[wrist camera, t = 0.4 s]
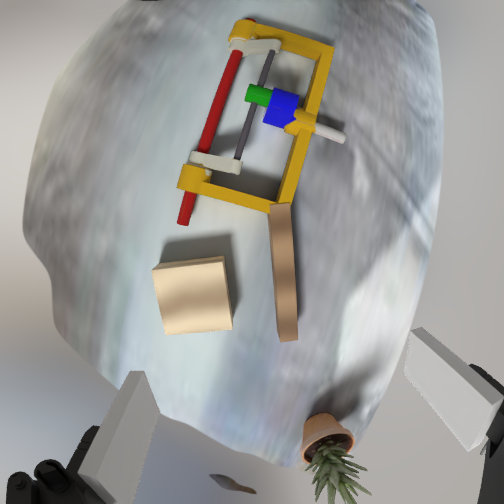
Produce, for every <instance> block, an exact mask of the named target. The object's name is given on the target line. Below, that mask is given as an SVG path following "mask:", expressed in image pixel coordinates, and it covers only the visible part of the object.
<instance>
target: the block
mask: <svg viewBox="0 0 504 504" xmlns="http://www.w3.org/2000/svg"><path fill="white" fill-rule="evenodd" d="M151 271H152V276H153V281H154V286H155V291H156V295H157V300H158V304H159V308H160V313H161V317H162V321H163V325H164V329H165V333H166V335H173V334H187V333H199V332H210V331H220V330H230V329H233V315H232V308H231V301H230V295H229V288H228V281H227V274H226V267H225V260H224V255H223V256H215V257H207V258H199V259H191V260H182V261H174V262H166V263H159V264H158V265H157V266H156V267H154V268H153V269H152V270H151Z"/></svg>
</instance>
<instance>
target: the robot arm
mask: <svg viewBox="0 0 504 504" xmlns="http://www.w3.org/2000/svg"><path fill="white" fill-rule="evenodd" d="M142 1H157V0H142ZM404 375H405V376H406V377H407V378H408V379H409V381H410V382H411V383H412V384H413V385H414V387H415V388H416V389H417V390H418V391H419V393H420V394H421V395H422V396H423V397H424V399H425V400H426V401H427V402H428V403H429V404H430V406H431V407H432V408H433V409H434V411H435V412H436V413H437V414H438V415H439V417H440V418H441V419H442V420H443V422H444V423H445V424H446V425H447V427H448V428H449V429H450V430H451V431H452V433H453V434H454V435H455V437H456V438H457V439H458V440H459V442H460V443H461V444H462V445H463V446H464V448H465V449H466V450H467V452H468V451H470V450H472V449H473V448H475V447H476V446H478V445H479V444H481V442H482V440H483V438H484V437H485V435H487V436H488V438H489V439H488V441H487V442H486V444H485V446H484V448H483V449H482V451H481V453H480V455H482V454H483V452H484V451H485V450H486V454H485V463H484V471H483V477H482V484H481V489H480V494H479V498H478V503H477V504H504V387H503V386H502V385H501V384H500V383H499V382H498V381H496V380H495V379H493V377H492V376H491V375H489V374H487V372H486V371H484V370H483V369H482V368H481V367H479V366H476V365H474V364H470V365H467V364H466V363H465V362H464V361H462V360H461V359H460V358H459V357H458V356H457V355H455V354H454V353H453V352H452V351H450V350H449V349H448V348H447V347H446V346H444V345H443V344H442V343H441V342H439V341H438V340H437V339H436V338H435V337H433V336H432V335H431V334H430V333H428V332H427V331H426V330H425V329H423V328H422V327H421V328H418V329H414V330H411V331H410V335H409V343H408V350H407V356H406V362H405V368H404ZM159 414H160V410H159V408H158V406H157V403H156V401H155V398H154V396H153V393H152V391H151V388H150V385H149V383H148V380H147V377H146V375H145V372H144V371H130V372H129V374H128V376H127V377H126V379H125V381H124V383H123V385H122V387H121V388H120V390H119V392H118V394H117V396H116V398H115V399H114V401H113V403H112V405H111V407H110V409H109V411H108V413H107V415H106V417H105V418H104V420H103V422H102V424H101V426H94V425H93V426H92V427H91V428H90V429H89V430H87V431H86V432H85V434H84V436H83V437H82V439H81V442H80V443H79V445H78V447H77V449H76V450H75V452H74V454H73V456H72V458H71V460H70V462H69V464H68V466H67V468H66V469H65V468H64V467H63V466H62V465H61V463H59V462H58V461H56V460H52V459H49V460H44V461H42V462H40V463H39V464H38V465H37V466H36V468H35V470H34V476H35V477H36V478H37V480H33V479H32V478H31V477H30V476H29V475H28V474H26V473H25V472H16V473H14V474H12V475H11V476H10V478H9V479H8V484H7V493H6V504H133V502H134V498H135V495H136V491H137V488H138V484H139V480H140V477H141V473H142V470H143V466H144V463H145V460H146V456H147V453H148V449H149V446H150V443H151V440H152V436H153V433H154V430H155V427H156V423H157V420H158V417H159Z"/></svg>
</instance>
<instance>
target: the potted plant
mask: <svg viewBox="0 0 504 504" xmlns="http://www.w3.org/2000/svg"><path fill="white" fill-rule="evenodd" d="M354 444H355V439H354V437H353V435H352V434H351V432H350V431H349V430H348V429H345V428H343V427H342V426H341V425H340V424H339V423H338V422H337V421H336V419H335V418H334V417H333V416H332V415H331V414H328V413H320V414H317V415H315V416H312V417H310V418H309V419H308V420H307V421H306V422H305V424H304V431H303V442H302V445H301V448H300V454H301V458H302V460H303V461H304V462H305V463H307V464H310V465H309V466H308V467H307V469H306V470H305V471H307V470H308V469H310V468H311V467H313V466H314V465H316V466H315V467H314V469H313V472H314V471H315V470H316V469H317V467H318V466H319V469H318V471H317V472H316V474H315V477H314V479H313V482H312V484H314V483H315V482H316V481H317V484H316V489H315V495H316V499H315V502H317V499H318V497H319V495H320V493H321V491H322V489H323V488H324V486H325V485H326V484H327V489H328V504H334V500H335V494H336V489H337V490H338V491H339V492H340V494H341V496H342V498H343V500H344V502H345V499H346V501H347V503H348V504H357V503H356V501H355V500H354V498H353V497H352V495H351V494H350V492H349V491H348V489H347V488H349V489H350V490H351V491H352V492H353V493H354V494H356V495H357V493H356V491H355V489H354V488H353V486H354V487H356V488H358V489H360V490H361V491H363V492H365V493H367V494H369V495H371V493H370V492H369V491H368V490H366V489H365V488H364V487H362V486H361V485H359V484H358V483H357V482H355V481H354V480H352V479H351V478H349V477H348V476H346V475H345V474H349V475H351V476H354V477H356V478H359V477H358V476H357V475H356V474H354V473H353V472H356V473H359V472H358V471H357V470H355V469H353V468H350V467H348V466H346V465H345V464H344V463H346V464H348V465H350V466H354V467H356V468H358V469H361V470H365V471H367V469H366V468H364V467H362V466H359V465H357V464H355V463H352V462H350V461H347V460H345V459H343V458H342V457H351V458H353V456H351V455H348V453H349V452H350V451H351V450H352V448H353V446H354ZM317 479H318V480H317ZM346 487H347V488H346ZM316 493H317V494H316ZM357 496H358V495H357ZM344 497H345V498H344ZM345 504H346V502H345Z"/></svg>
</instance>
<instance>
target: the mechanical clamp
mask: <svg viewBox="0 0 504 504" xmlns="http://www.w3.org/2000/svg"><path fill="white" fill-rule="evenodd" d="M228 40H229V42H230V46H229V48H228V52H229V53H231V55H230V58H229V60H228V63H227V65H226V68H225V70H224V73H223V76H222V78H221V81H220V84H219V86H218V89H217V92H216V95H215V97H214V100H213V103H212V106H211V109H210V112H209V115H208V118H207V121H206V124H205V127H204V130H203V133H202V136H201V139H200V142H199V145H198V148H197V152H196V151H191V155H190V158H189V161H188V163H187V164H183V167H182V170H181V174H180V177H179V181H178V184H177V188H178V189H182V190H185V193H184V197H183V200H182V204H181V208H180V212H179V216H178V220H177V224H180V225H183V226H188V225H189V221H190V217H191V213H192V210H193V206H194V202H195V199H196V195H197V194H201V195H205V196H208V197H212V198H216V199H219V200H223V201H227V202H230V203H234V204H237V205H241V206H244V207H248V208H251V209H255V210H258V211H262V212H265V213H268V214H270V205H274V204H285V203H290V206H291V203H292V200H293V196H294V193H295V190H296V186H297V183H298V180H299V176H300V173H301V169H302V166H303V162H304V159H305V156H306V152H307V149H308V145H309V142H310V138H311V135H312V133H315V134H318V135H320V136H323V137H326V138H328V139H331V140H333V141H336V142H339V143H341V144H343V142H344V141H345V138H346V134H345V133H343V132H341V131H338V130H336V129H333V128H331V127H328V126H325V125H323V124H320V123H317V122H316V118H317V113H318V110H319V106H320V102H321V99H322V95H323V91H324V88H325V84H326V80H327V76H328V73H329V69H330V65H331V61H332V57H333V53H334V50H335V48H334V47H331V46H329V45H326V44H323V43H321V42H318V41H315V40H312V39H309V38H306V37H303V36H300V35H297V34H294V33H291V32H288V31H284V30H281V29H277V28H273V27H270V26H266V25H262V24H258V23H256V21H255V20H254V19H251V18H247V19H246V20H238V21H236V23H235V25H234V27H233V29H232V31H231V34H230V36H229V39H228ZM280 49H283V50H286V51H290V52H293V53H296V54H299V55H302V56H305V57H308V58H311V59H313V60H316V64H315V68H314V71H313V75H312V78H311V82H310V85H309V89H308V92H307V95H306V99H305V102H304V106H303V108H300V107H297V104H298V100H299V95H297V94H294V93H291V92H288V91H284V90H281V89H278V88H275V87H274V89H273V90H271V89H268V88H264V84H265V81H266V78H267V75H268V72H269V69H270V66H271V63H272V61H273V58H274V55H275V54H278V53H279V50H280ZM250 54H268V56H267V59H266V62H265V64H264V67H263V70H262V73H261V76H260V79H259V82H258V85H253V84H249V87H248V90H247V93H246V96H245V101H246V102H250V103H251V105H250V108H249V111H248V114H247V118H246V121H245V124H244V127H243V130H242V133H241V136H240V139H239V143H238V146H237V149H236V152H235V156H234V159H231V158H226V157H220V156H215V155H209V151H210V147H211V144H212V141H213V138H214V135H215V132H216V129H217V125H218V122H219V119H220V116H221V113H222V111H223V108H224V105H225V102H226V99H227V96H228V93H229V90H230V88H231V85H232V82H233V79H234V77H235V74H236V71H237V69H238V66H239V63H240V61H241V58H242V57H246V56H247V55H250ZM257 105H261V106H264V107H266V109H265V112H264V115H263V117H264V119H263V123H267V124H270V125H273V126H276V127H280V128H283V129H285V130H284V132H286V133H289V134H292V135H295V137H294V140H293V143H292V147H291V150H290V154H289V157H288V160H287V164H286V167H285V171H284V174H283V177H282V181H281V184H280V187H279V191H278V194H277V197H276V201H275V202H273V201H269V200H266V199H263V198H259V197H256V196H252V195H249V194H245V193H242V192H238V191H235V190H231V189H228V188H224V187H220V186H217V185H213V184H209V182H210V179H211V175H212V171H210V169H214V170H219V171H223V172H228V173H229V174H232V175H239V174H240V171H241V167H242V164H243V162H242V161H240V159H241V156H242V152H243V149H244V146H245V143H246V139H247V136H248V133H249V130H250V127H251V124H252V120H253V117H254V114H255V111H256V108H257Z"/></svg>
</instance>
